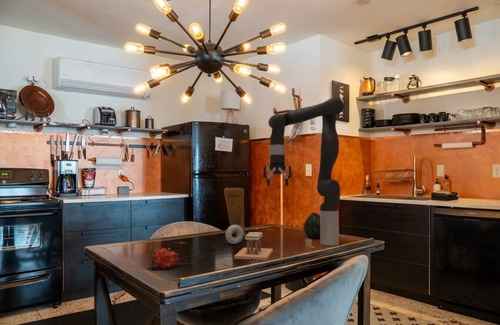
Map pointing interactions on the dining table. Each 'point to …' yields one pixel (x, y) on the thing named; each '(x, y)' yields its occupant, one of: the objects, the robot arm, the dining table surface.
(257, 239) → the stool
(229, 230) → the donut
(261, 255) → the mat
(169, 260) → the dragon fruit
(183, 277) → the dining table surface
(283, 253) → the dining table surface
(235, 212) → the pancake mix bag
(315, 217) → the squash
